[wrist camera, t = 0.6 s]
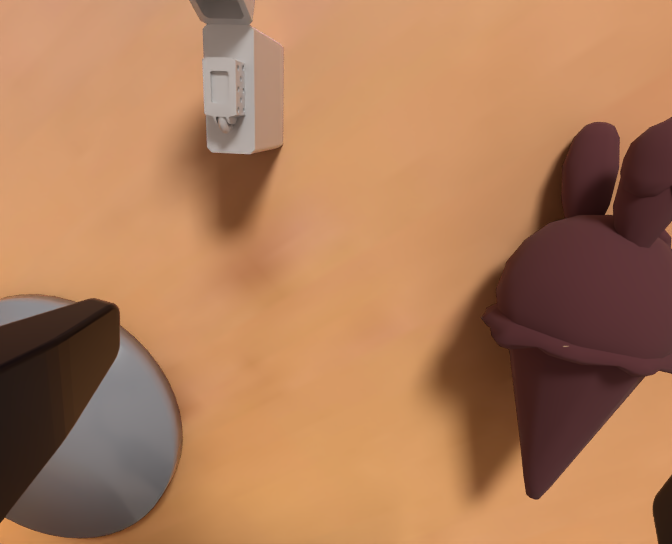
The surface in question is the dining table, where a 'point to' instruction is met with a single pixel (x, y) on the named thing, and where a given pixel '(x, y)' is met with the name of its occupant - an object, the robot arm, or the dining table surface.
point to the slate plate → (104, 445)
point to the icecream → (589, 298)
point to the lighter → (240, 79)
